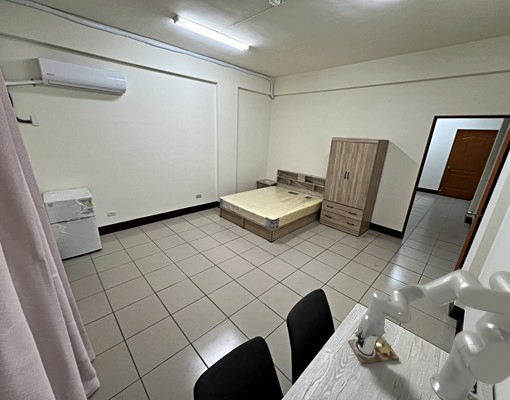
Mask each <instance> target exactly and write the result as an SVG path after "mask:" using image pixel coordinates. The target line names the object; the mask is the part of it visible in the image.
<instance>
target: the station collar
mask: <svg viewBox="0 0 510 400" xmlns="http://www.w3.org/2000/svg"><path fill="white" fill-rule="evenodd" d="M357 341H358V338H356V340H355V341H354V343H353V344H354V349H355V351H356V353H357V354H358V355H359V356H361V357H362V358H364V359H367V360H371V359H373V358H374V357H375V355H376V353H375V349H373V355H372V356H365V355H363V354H362V353H360V352H359V351H358V349H357V347H356V343H357Z"/></svg>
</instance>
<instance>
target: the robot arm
mask: <svg viewBox="0 0 510 400" xmlns="http://www.w3.org/2000/svg"><path fill="white" fill-rule="evenodd" d="M488 286H489V288H488V287H485V286H484V285H483V284H482V283H481V281H480V280H479V278H478V277H477V276H475V275H474V274H473V273H471V272H470V271H468V270H465V269H457V270H454V271H452V272H449V273H447V274H445V275H443V276H440V277H438V278H436V279H434V280H432V281H429V282H427V283H425V284H407V285H403V286H402V287H400V288H397V289H395V290H394V291H392V292H391V293H389V294H390V295H388V294H387V293H386V292H383V291H382V290H381V291H380V290H376V291H374V292H372V295H371V297H370V300H369V304H368V307H367V310H366V313H365V315H364V316H363V317H361V320H360V322H359V325H358V327H357V330H356V331H355V332H354V336H355V337H357V339H358V341H357V342H358V344H359V346H360V347H361V348H362V347H363V344H364V340H365V338H368V337H370V336H376V335H377V340H379V338H380V337H383V335H385V334H386V330H385V326H386V325H385V323H386V318H387V316H388V317H389V318H391V319H392V320H394V321H397V322H398V323H401V324H404V325H406V324H409V323H411V322H412V320H413V314H412V309H411V304H410V303H413V302H414V301H417V300H420V299H421V300H423V299H424V300H429V301H430V302H432V304H434V305H435V306H439V307H443V306H446V305H448V304H450V303H453V302H455V301H458V302H459V303H460V304H462V305H463V306H465V307H467V308H469V309H473V310H477V311H483V312H485V313H484V314H483V315H482V316H481V317H480V318H478V320H477V321H476V322H475V325H474V328H475V331H476V332H475V331H472V330H462V331H460V332H458V333H456V335H455V337H454V340H453V344H452V348H451V350H450V352H449V355H448V356H447V358H446V360H445V362H444V364H443V366H442V367H441V369H440V372H439V373H435V374H433V375H431V377H430V385H431V388H432V389H433V391H434V392H435V394H436V395H437V396H438V397H439V398H440V399H441V400H469V398H468V395H469V394H470V392H475V388H474V386H475V384H476V383H477V382H480V383H483V384H486V385H496V384H497V385H498V384H500V383H503V381H505V380H506V379H509V377H510V272H509V271H505V270H499V271H494V272H493V273H492V274H491V275H490V276H489V278H488ZM361 336H363V338H362V337H361ZM377 340H376V343H375V346H376V344H377Z"/></svg>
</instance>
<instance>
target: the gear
mask: <svg viewBox="0 0 510 400" xmlns="http://www.w3.org/2000/svg"><path fill="white" fill-rule="evenodd" d="M385 340H386V339H383V338H382V339H379V340H377V344H376V346H374V349H375V350H378V351H379V352H380V353H379V354H381V355H382V354H384V355H386V356H387V357H389V356H390V353H391V354H392V353H393V350H394V349H393V348H392V345H391V343H389V342H388V341H387V340H386V341H387V342H388V343H387V342H386V341H385ZM391 348H392V349H393V350H392V349H391Z"/></svg>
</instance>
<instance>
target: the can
mask: <svg viewBox="0 0 510 400" xmlns="http://www.w3.org/2000/svg"><path fill="white" fill-rule="evenodd" d="M361 337H362V338H363V336H361ZM376 340H377V335H376V336H370V337H368V338H365V340H364V344H363V347H362V348H361V347H360V346H359V344H358V347H359V349H360V351H361V352H363V353H364V354H367V355H370V354H371V353H372V351H373V349H374V346H375V343H376Z"/></svg>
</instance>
